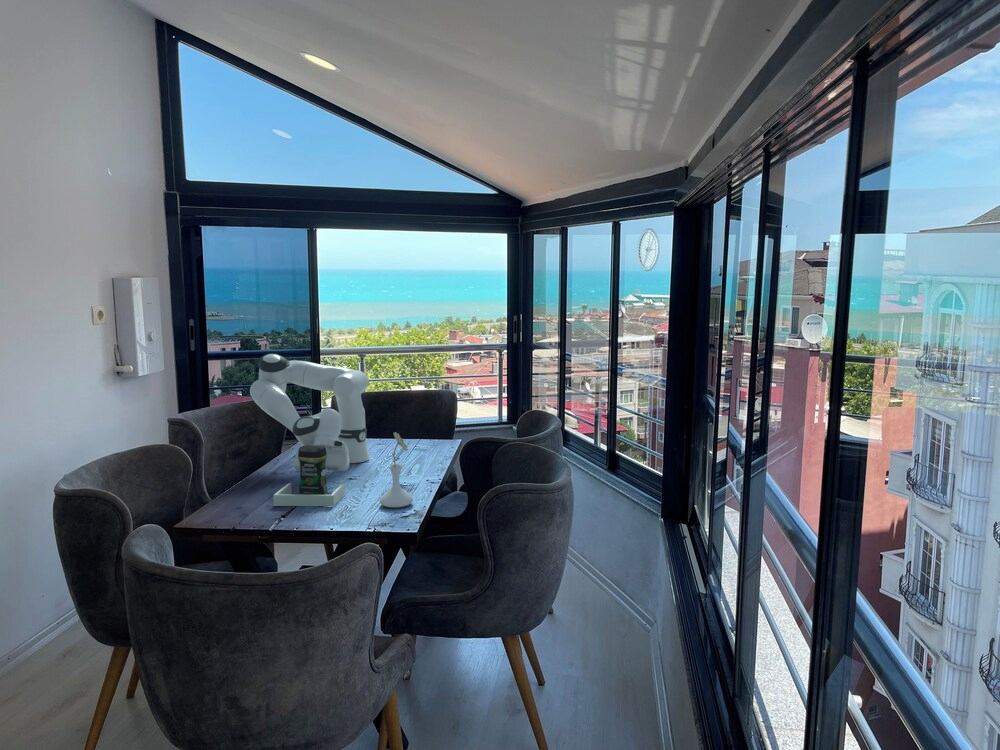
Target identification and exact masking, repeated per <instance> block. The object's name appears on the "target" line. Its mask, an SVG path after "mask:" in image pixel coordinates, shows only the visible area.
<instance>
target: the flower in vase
mask: <svg viewBox="0 0 1000 750" xmlns="http://www.w3.org/2000/svg"><path fill="white" fill-rule="evenodd" d="M393 436H394V438H395V440H396V442H397V443H396V445H395V447H394V451H393V452H392V453H391V454H392V456H393V461H392V462H393V463H394V464H390V465H388V469H389V470H390V473H391V476H392V485H391V488H390V489H389V490H388V491H387V492H385V493H384V494H383V495H382V496H381V497H380V499H379V504H380V505H382V506H384V507H387V508H392V509H395V508H403V507H406V506H409V505H411V504H412V503H413V502H414V498H413V497H412V495H411V494H410V493H409V492H407V491H406V490H404V489H403V488H402V487H401V485H400V476H401V475H400V474H401V471H402V469H403V467H404V465H403V464H397V463H396V462H397V461H399V460H400V457H399V456H398V457H397V458H396V457H395V453H396V450H397V447H398V445H399V446H400V448H402V449H403V450H404V452H407V451H408V450H409V449H408V445H407V444H406V443H405V442H404V439H403V438H401V436H400V433H397V432H396V431H395V432H393Z"/></svg>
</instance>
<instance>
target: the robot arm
mask: <svg viewBox="0 0 1000 750" xmlns="http://www.w3.org/2000/svg"><path fill="white" fill-rule="evenodd" d="M258 368H259V369H258V379H257V380H255V381H254V382H252V384H251V385H250V388H249V394H250V396H251V399H253V402H254V403H255V404H256V405H257V406H258V407H259V408H260V409H261V410H262V411H264V412H265V413H266V414H267V415H269V416H270V417H272V418H273V419H274V420H276V421H278V423H280V424H282V425H283V426H284V427H286V428H287V430H289V431H290V432H292V434H293V435H294V436H295V438H296V439H297V440H298V442H299V444H300V445H301V446H304V445H316V446H325V448H326V453H327V458H326V462H325V469H326V474H328V471H336V472H337V471H340V472H342V471H347V470H348V469H349V468H350V464H359V463H364V462H366V461H367V462H368V461H369V460H371V459H370V457H371V456H370V453H369V448H368V447H369V446H368V440H367V434H368V433H367V431H368V429H367V427H366V410H365V408H364V404H363V401H362V393H365V391H366V389H367V388H368V386H369V377H368V375H367V374H366V373H365V372H364V371H361V370H357V369H353V368H347V367H346V368H343V367H338V366H329V365H324V364H319V363H316V362H311V361H304V360H296V359H295V360H288V359H287V358H285V357H284V356H282V355H280V354H278V353H267V354H264V355H263V356H261V357H260V359H259V363H258ZM288 383H291V384H294V385H297V386H299V387H300V386H301V387H303V388H308V389H313V390H318V391H321V392H333V393H334V395H335V398H336V399H335V400H336V403H337V408H338V411H337V410H335V409H333V408H325V409H323V410H321V411H320V412H318V413H316V414H313V415H309V416H305V415H304V416H300V415H299V413H298V411H297V409H296V408H295V406H294V404H293V402H292V400H291V399H290V398H289V396H288V395H287V384H288ZM298 451H299V448H298V449H297V450H296V453H295V457H294V460H293V462H292V464H293V465H292V466H293V468H294V469H295V470H296V471H300V462H299V460H298Z"/></svg>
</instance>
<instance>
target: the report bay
mask: <svg viewBox="0 0 1000 750" xmlns="http://www.w3.org/2000/svg"><path fill="white" fill-rule="evenodd" d="M345 490H346V489H345V483H341V484H340V485H339V486H338V487H337V488H336V489H335V490H334V491H333V492H331V494H327V495H301V494H299V493H298V494H296V493H295V494H294V493H293V494H292V483H291V482H289V483H288V482H287V484H285V485H284V486H283V487H281V488H280V489H279V490H278V491H277V492H276V493H274V494H273V495H272V496H273V507H274V506H324V507H323V508H328V507H327V506H334V505H335V504H336V503H337V502H338V503H339V502H340V500H341V499H343V497H344V496H345V495H346V494H345V493H346V492H345ZM344 494H345V495H344ZM343 495H344V496H343ZM342 496H343V497H342ZM338 503H337V504H338ZM337 504H336V505H337ZM336 505H335V506H336ZM335 506H334V507H335Z"/></svg>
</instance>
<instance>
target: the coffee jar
mask: <svg viewBox="0 0 1000 750" xmlns="http://www.w3.org/2000/svg"><path fill="white" fill-rule="evenodd" d="M298 449H299V451H298V460H299V462H300V470H299V472H300V474H299V486H298V494H301V495H329V494H328V492H329V489H328V481H327V473H326V469H325V462H326V458H327V453H326V448H325V446H316V445H304V446H302V445H301V446H299V448H298Z"/></svg>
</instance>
